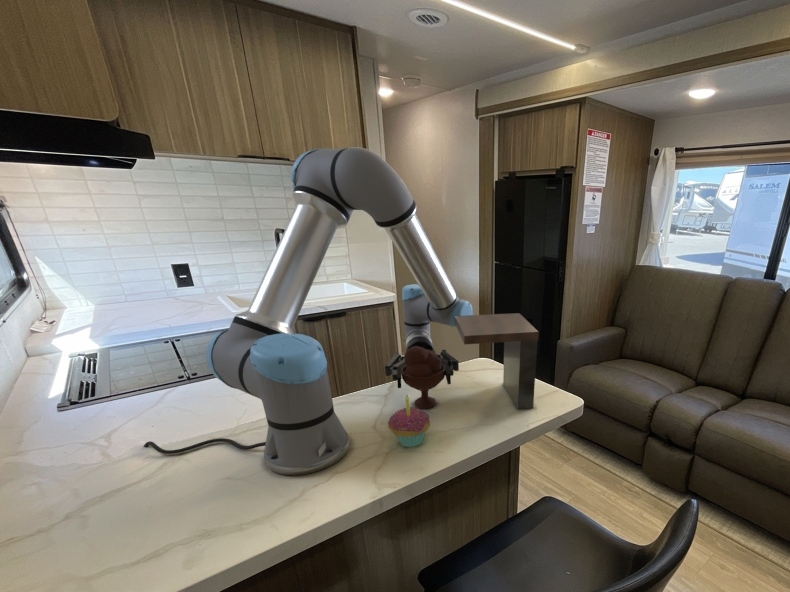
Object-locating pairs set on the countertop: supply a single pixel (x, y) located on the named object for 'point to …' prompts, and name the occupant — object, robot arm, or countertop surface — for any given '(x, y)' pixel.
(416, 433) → the cupcake
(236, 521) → the countertop surface
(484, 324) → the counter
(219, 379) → the robot arm
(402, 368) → the ice cream bowl
